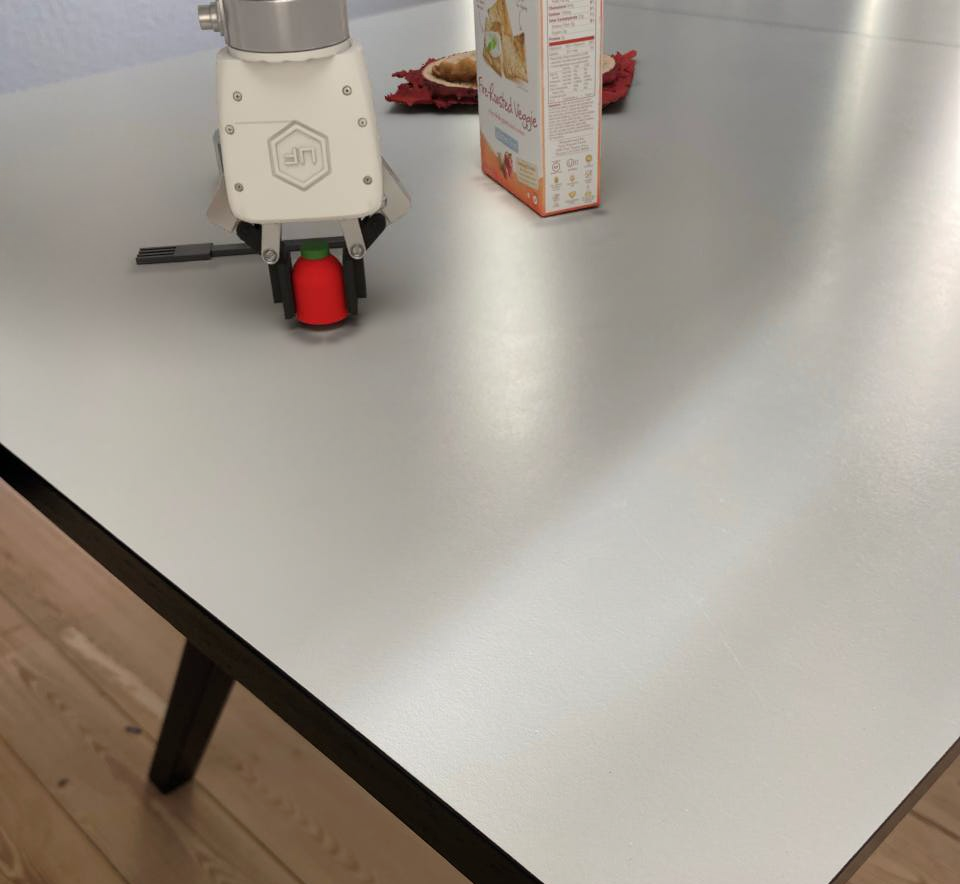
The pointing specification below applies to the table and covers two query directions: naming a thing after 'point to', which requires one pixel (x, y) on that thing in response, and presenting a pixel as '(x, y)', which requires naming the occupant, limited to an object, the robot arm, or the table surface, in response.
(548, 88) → the cracker box
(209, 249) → the fork
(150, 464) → the table surface
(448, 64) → the plate with food
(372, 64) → the table surface
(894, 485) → the table surface
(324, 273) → the red rounded piece
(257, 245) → the robot arm
